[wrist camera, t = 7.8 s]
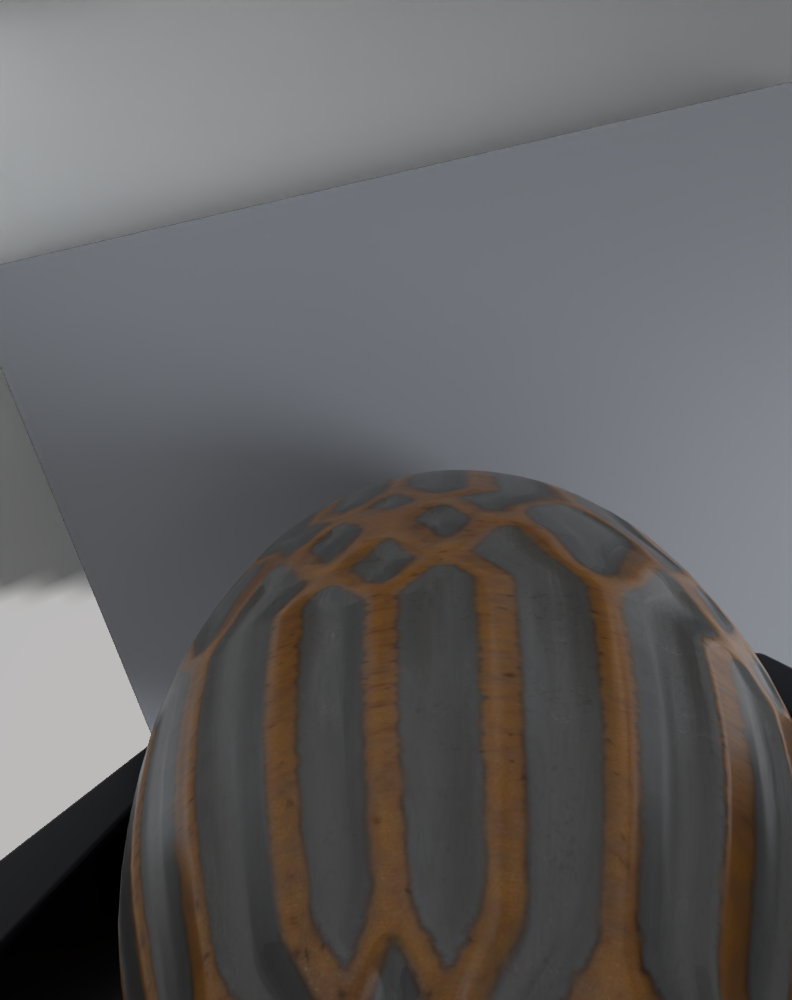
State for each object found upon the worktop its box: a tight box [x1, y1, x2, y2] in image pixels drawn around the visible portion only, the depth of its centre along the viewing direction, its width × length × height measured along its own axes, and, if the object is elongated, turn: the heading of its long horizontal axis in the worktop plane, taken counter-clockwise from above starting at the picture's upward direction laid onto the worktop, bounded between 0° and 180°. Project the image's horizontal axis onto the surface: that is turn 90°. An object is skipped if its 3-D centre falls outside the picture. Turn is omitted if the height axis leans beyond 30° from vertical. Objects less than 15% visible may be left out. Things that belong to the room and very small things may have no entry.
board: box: [0, 82, 792, 734], centre depth 12 cm, size 14×14×2 cm
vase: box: [118, 470, 792, 1000], centre depth 6 cm, size 7×7×9 cm
